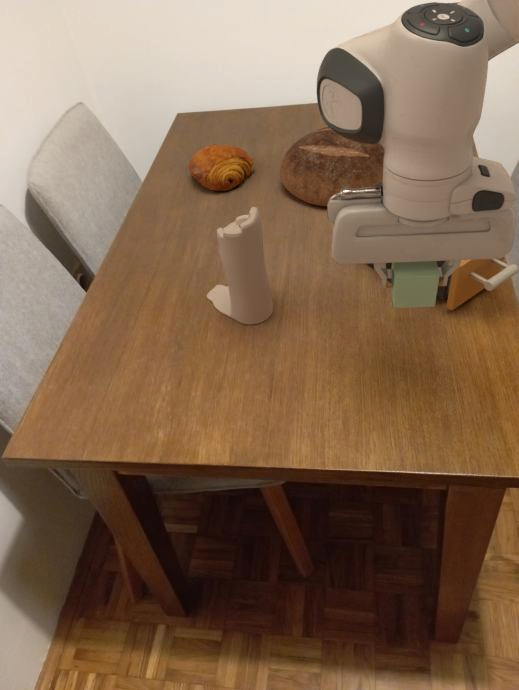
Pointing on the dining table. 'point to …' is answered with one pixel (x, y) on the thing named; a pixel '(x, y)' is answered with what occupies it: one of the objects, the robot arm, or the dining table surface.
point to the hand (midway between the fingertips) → (413, 283)
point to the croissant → (220, 166)
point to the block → (415, 284)
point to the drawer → (474, 279)
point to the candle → (243, 272)
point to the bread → (330, 166)
